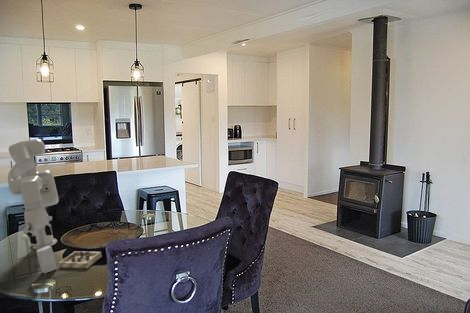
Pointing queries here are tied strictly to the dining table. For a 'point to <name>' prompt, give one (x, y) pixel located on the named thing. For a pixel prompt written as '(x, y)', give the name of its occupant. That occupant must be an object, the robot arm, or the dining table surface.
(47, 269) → the skincare box
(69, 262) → the pin tray
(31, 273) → the dining table surface
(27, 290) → the dining table surface
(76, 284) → the dining table surface
